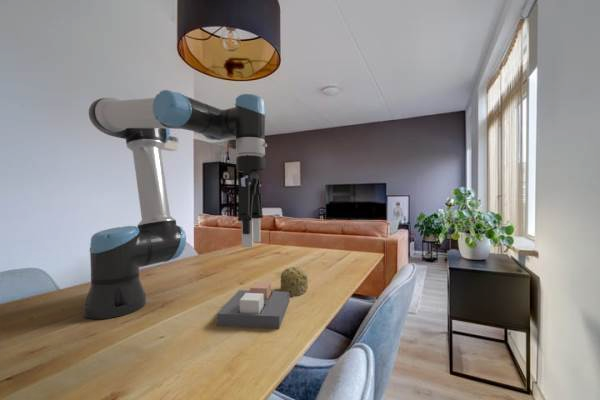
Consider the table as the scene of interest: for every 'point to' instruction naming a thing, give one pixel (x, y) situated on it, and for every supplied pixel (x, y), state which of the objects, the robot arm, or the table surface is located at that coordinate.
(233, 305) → the key panel
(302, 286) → the rock
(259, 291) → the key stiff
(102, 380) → the table surface
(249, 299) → the key soft
